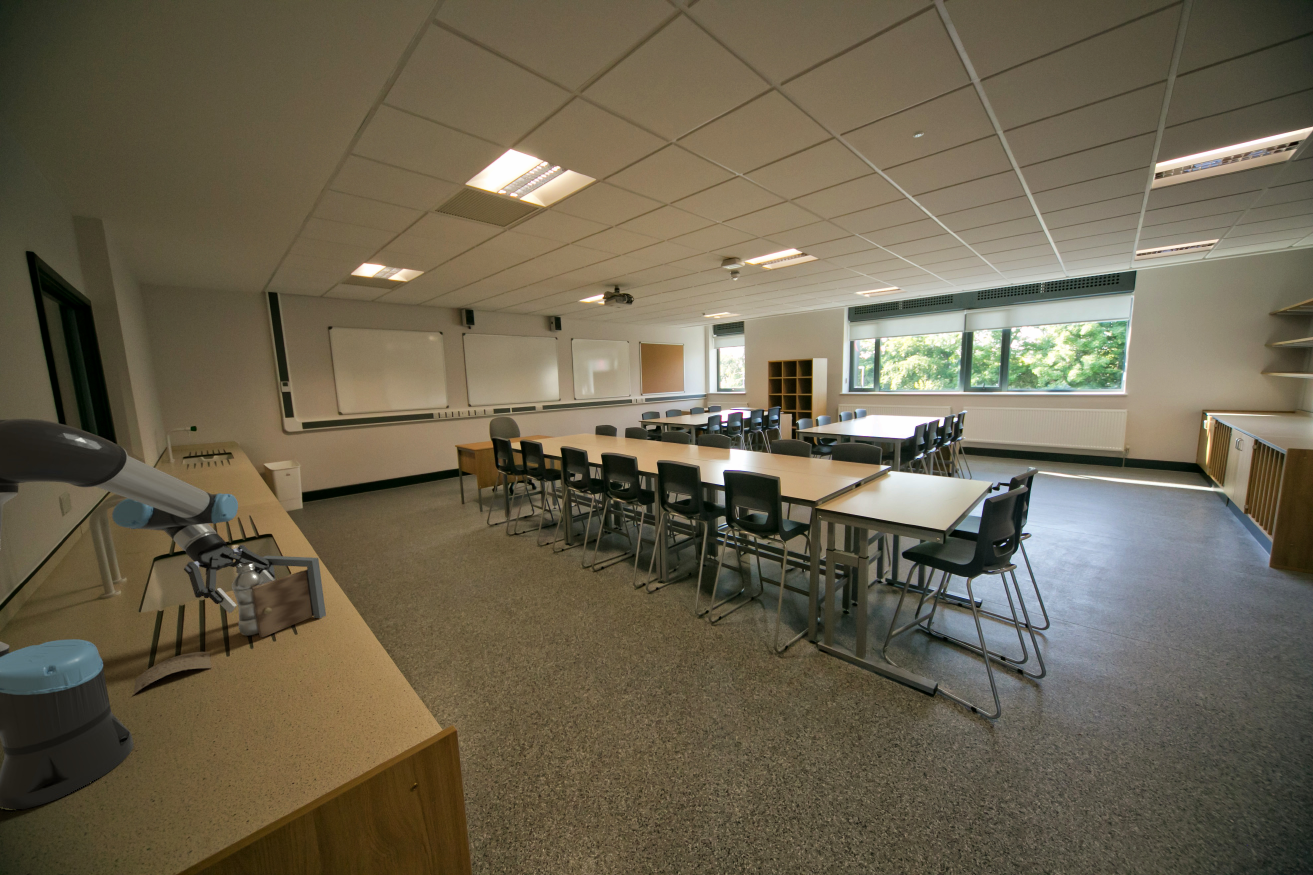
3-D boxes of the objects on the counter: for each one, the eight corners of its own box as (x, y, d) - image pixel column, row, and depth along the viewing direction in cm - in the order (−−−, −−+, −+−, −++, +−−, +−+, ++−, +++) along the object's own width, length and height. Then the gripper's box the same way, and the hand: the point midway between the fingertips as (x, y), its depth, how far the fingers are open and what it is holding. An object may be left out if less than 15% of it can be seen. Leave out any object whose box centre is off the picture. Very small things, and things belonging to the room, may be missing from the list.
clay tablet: (129, 700, 101) (127, 689, 101) (130, 681, 108) (128, 670, 107) (218, 668, 112) (216, 658, 111) (214, 653, 118) (212, 643, 118)
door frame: (320, 618, 133) (312, 560, 130) (268, 615, 136) (259, 558, 133) (326, 615, 135) (318, 557, 132) (274, 611, 138) (266, 555, 135)
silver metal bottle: (259, 637, 124) (248, 568, 121) (233, 639, 123) (221, 569, 120) (277, 625, 130) (267, 558, 127) (252, 626, 130) (241, 560, 127)
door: (313, 613, 135) (307, 568, 133) (318, 615, 133) (312, 570, 132) (259, 636, 123) (251, 587, 121) (263, 638, 122) (256, 589, 120)
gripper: (240, 537, 137) (290, 588, 136) (140, 568, 114) (200, 630, 113) (252, 520, 135) (303, 572, 134) (154, 548, 112) (214, 611, 111)
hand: (256, 598), depth 124 cm, fingers open, 11 cm apart
